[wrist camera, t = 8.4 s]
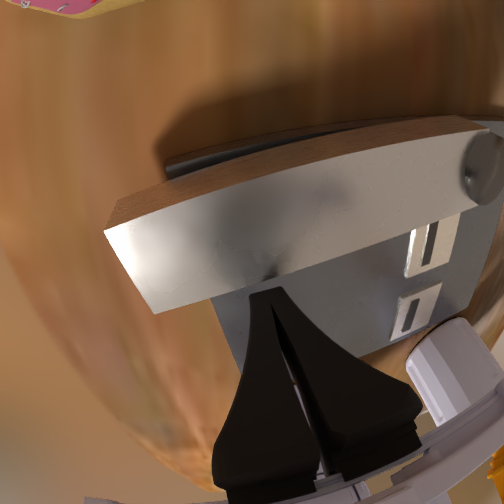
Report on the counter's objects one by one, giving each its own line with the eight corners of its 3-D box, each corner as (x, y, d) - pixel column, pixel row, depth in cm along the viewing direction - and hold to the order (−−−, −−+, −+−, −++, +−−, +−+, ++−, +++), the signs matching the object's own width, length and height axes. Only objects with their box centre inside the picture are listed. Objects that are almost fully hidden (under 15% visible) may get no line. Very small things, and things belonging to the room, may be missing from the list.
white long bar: (157, 273, 13) (154, 321, 11) (118, 197, 11) (100, 237, 8) (468, 177, 13) (503, 200, 11) (471, 112, 11) (513, 129, 9)
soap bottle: (457, 304, 24) (566, 487, 4) (468, 328, 29) (553, 472, 9) (393, 360, 27) (480, 547, 7) (416, 373, 31) (488, 520, 12)
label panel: (460, 299, 24) (469, 309, 22) (245, 379, 22) (249, 394, 21) (503, 116, 13) (518, 123, 12) (167, 159, 12) (164, 170, 11)
